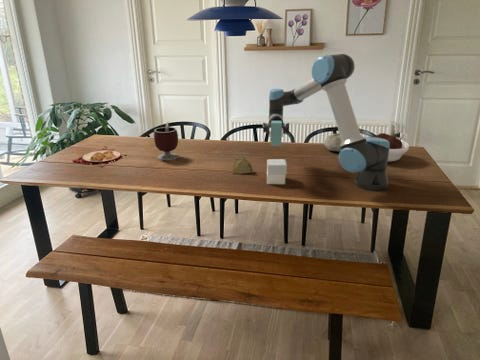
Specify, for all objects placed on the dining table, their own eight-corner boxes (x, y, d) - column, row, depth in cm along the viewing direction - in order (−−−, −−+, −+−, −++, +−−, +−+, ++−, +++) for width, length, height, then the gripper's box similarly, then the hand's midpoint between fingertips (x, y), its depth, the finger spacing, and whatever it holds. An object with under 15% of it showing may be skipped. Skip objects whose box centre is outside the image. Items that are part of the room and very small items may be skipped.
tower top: (284, 168, 194) (284, 159, 192) (286, 174, 186) (286, 165, 184) (267, 168, 194) (267, 159, 192) (267, 174, 186) (268, 165, 184)
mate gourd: (177, 161, 223) (174, 127, 215) (153, 161, 223) (150, 127, 216) (181, 153, 237) (179, 121, 230) (159, 153, 237) (156, 121, 230)
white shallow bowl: (399, 153, 231) (403, 128, 226) (412, 166, 208) (417, 139, 203) (357, 152, 234) (360, 128, 228) (365, 165, 211) (368, 139, 205)
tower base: (284, 178, 195) (284, 168, 194) (285, 184, 187) (285, 175, 185) (267, 177, 196) (267, 168, 194) (266, 184, 188) (266, 174, 186)
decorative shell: (346, 156, 226) (347, 140, 223) (318, 151, 237) (319, 135, 233) (357, 149, 240) (359, 133, 236) (331, 144, 250) (332, 129, 246)
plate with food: (72, 163, 224) (70, 157, 223) (104, 150, 245) (103, 145, 244) (102, 169, 214) (101, 163, 213) (132, 155, 235) (132, 150, 234)
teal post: (280, 142, 187) (281, 120, 183) (281, 145, 182) (281, 123, 178) (270, 142, 187) (271, 120, 183) (270, 145, 183) (271, 123, 178)
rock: (257, 166, 205) (241, 161, 210) (254, 157, 198) (238, 152, 202) (248, 182, 201) (232, 176, 205) (245, 173, 194) (228, 168, 198)
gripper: (293, 129, 199) (295, 142, 178) (258, 129, 201) (256, 141, 179) (293, 115, 197) (296, 126, 175) (258, 115, 198) (256, 125, 177)
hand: (276, 134), depth 177 cm, fingers closed on teal post, 5 cm apart
